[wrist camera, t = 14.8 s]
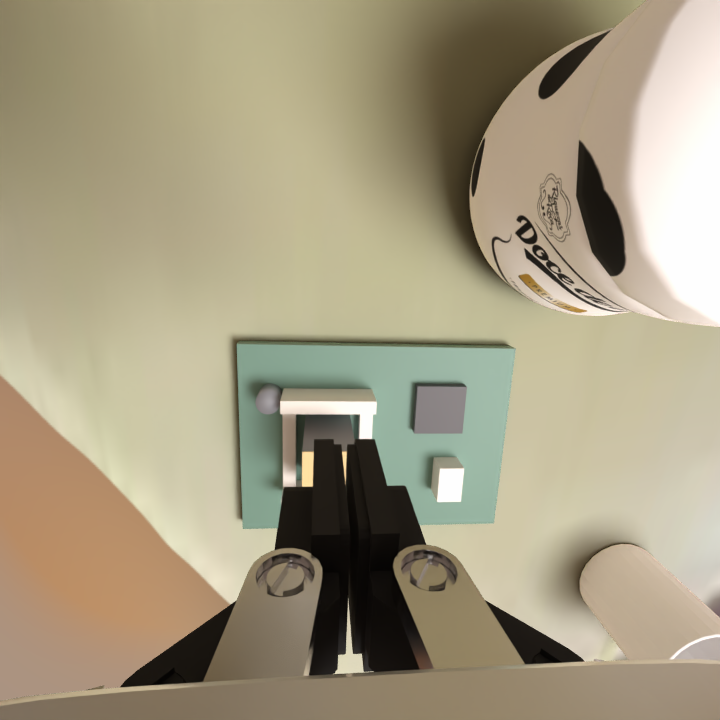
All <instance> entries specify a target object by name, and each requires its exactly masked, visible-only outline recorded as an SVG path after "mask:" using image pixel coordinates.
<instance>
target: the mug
mask: <svg viewBox="0 0 720 720" xmlns="http://www.w3.org/2000/svg"><path fill="white" fill-rule="evenodd" d="M579 582H580V592H581V595H582V598H583V600H584V601H585V603H586V604H587V605H588V607H589V608H590V609H591V611H592V612H593V613H594V615H595V616H596V617H597V618H598V620H599V621H600V622H601V624H602V625H603V626H604V628H605V629H606V630H607V632H608V633H609V634H610V636H611V637H612V638H613V640H614V641H615V642H616V644H617V645H618V646H619V648H620V649H621V650H622V652H623V653H624V654H625V656H626V657H627V658H628V660H640V659H703V660H716V661H720V618H719V617H718V616H717V615H716V614H715V613H714V612H713V611H712V610H711V609H710V608H708V607H707V606H706V605H705V604H704V603H703V602H702V601H701V600H700V599H699V598H698V597H697V596H695V595H694V594H693V593H692V592H691V591H690V590H689V589H688V588H687V587H686V586H685V585H683V584H682V583H681V582H680V581H679V580H678V579H677V578H676V577H675V576H674V575H673V574H671V573H670V572H669V571H668V570H667V569H666V568H665V567H664V566H663V565H662V564H661V563H660V562H658V561H657V560H656V559H655V558H654V557H653V556H652V555H651V554H650V553H648V552H647V551H646V550H644V549H643V548H641V547H638V546H634V545H631V544H619V545H614V546H610V547H608V548H606V549H603V550H601V551H600V552H599V553H597V554H596V555H594V556H593V557H592V558H591V559H590V560H589V562H588V563H587V564H586V566H585V567H584V569H583V571H582V573H581V577H580V581H579Z"/></svg>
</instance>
